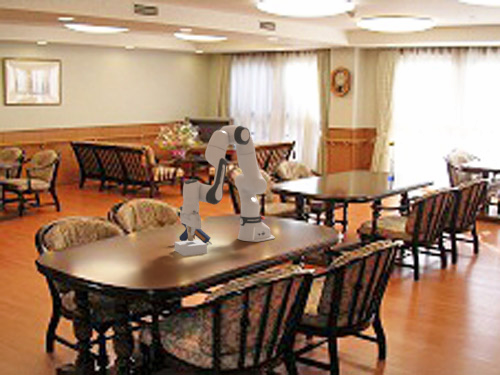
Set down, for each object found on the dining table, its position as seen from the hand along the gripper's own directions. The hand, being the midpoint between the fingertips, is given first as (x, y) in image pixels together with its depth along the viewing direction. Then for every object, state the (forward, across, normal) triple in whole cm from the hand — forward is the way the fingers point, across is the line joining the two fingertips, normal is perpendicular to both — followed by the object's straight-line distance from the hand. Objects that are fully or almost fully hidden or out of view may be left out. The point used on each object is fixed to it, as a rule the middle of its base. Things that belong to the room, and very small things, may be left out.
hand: (190, 234), depth 364 cm
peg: (+4, 0, 0) cm, 4 cm away
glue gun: (+10, +18, -11) cm, 24 cm away
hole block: (+10, 0, 0) cm, 10 cm away
